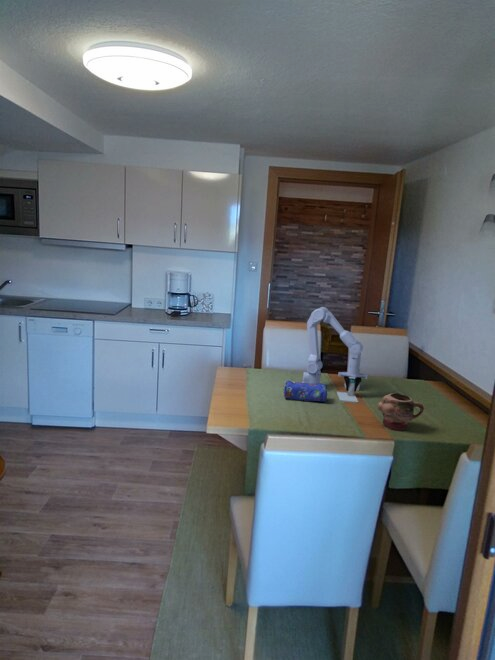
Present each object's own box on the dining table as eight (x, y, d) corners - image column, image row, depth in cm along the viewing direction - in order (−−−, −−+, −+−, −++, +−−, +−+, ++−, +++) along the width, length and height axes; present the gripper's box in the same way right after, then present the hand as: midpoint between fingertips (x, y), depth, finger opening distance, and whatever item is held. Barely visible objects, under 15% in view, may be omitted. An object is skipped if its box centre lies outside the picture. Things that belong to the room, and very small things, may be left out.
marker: (347, 395, 227) (349, 380, 225) (346, 393, 230) (348, 377, 228) (354, 396, 226) (356, 380, 225) (353, 394, 230) (355, 378, 228)
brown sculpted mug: (413, 421, 201) (418, 392, 198) (425, 433, 189) (430, 402, 186) (371, 419, 199) (375, 390, 196) (380, 431, 187) (384, 400, 185)
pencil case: (282, 400, 216) (283, 382, 214) (282, 394, 224) (284, 376, 222) (327, 405, 214) (329, 386, 212) (325, 399, 222) (327, 381, 221)
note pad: (340, 401, 220) (340, 399, 220) (336, 392, 233) (336, 391, 233) (358, 402, 220) (358, 401, 220) (353, 393, 233) (353, 392, 233)
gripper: (341, 366, 222) (337, 392, 224) (369, 369, 221) (366, 394, 224) (339, 362, 229) (336, 387, 231) (367, 365, 228) (363, 389, 231)
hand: (350, 390), depth 228 cm, fingers closed on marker, 3 cm apart
